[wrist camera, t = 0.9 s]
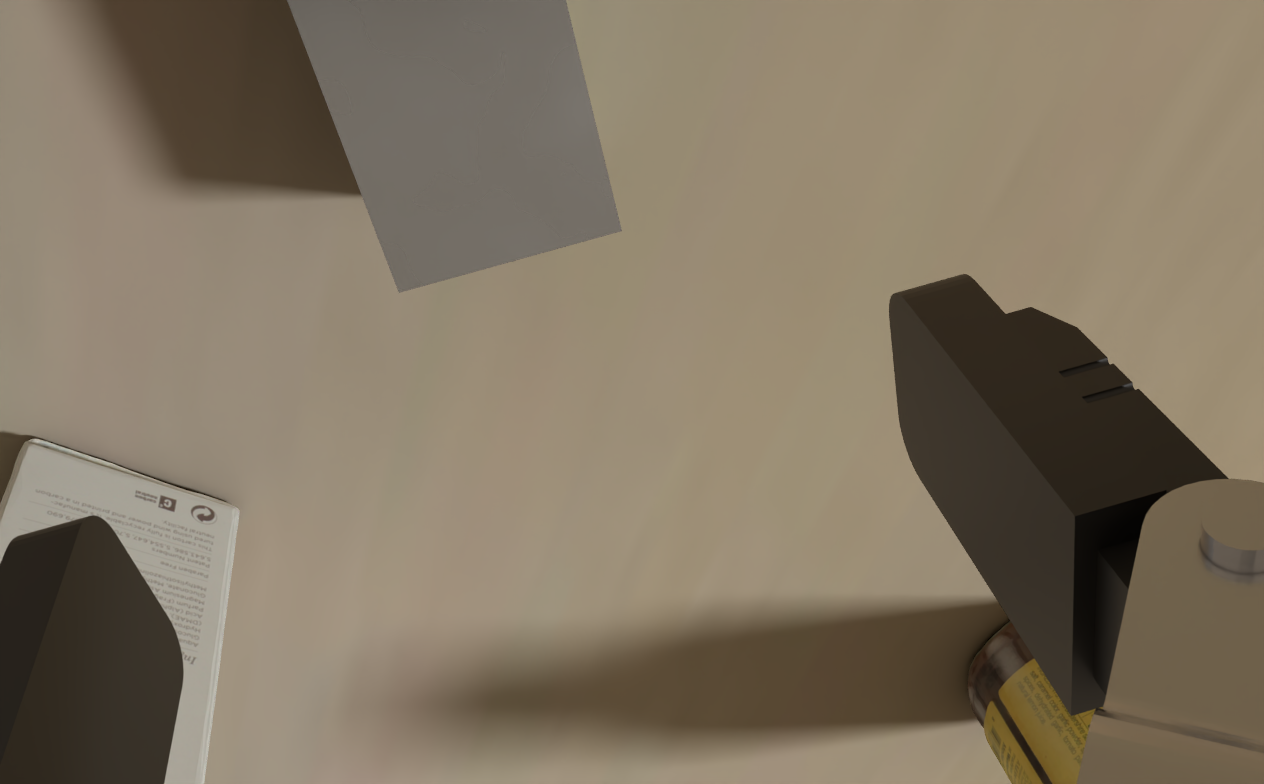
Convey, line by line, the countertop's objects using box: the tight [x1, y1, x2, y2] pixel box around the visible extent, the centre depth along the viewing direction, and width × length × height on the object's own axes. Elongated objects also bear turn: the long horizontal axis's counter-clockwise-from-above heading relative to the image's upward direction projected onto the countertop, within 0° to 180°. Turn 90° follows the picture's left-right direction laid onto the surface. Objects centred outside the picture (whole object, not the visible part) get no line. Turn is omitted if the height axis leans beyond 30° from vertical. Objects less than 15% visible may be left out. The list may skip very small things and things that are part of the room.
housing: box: [287, 0, 622, 293], centre depth 24 cm, size 8×5×5 cm, turn 12°
